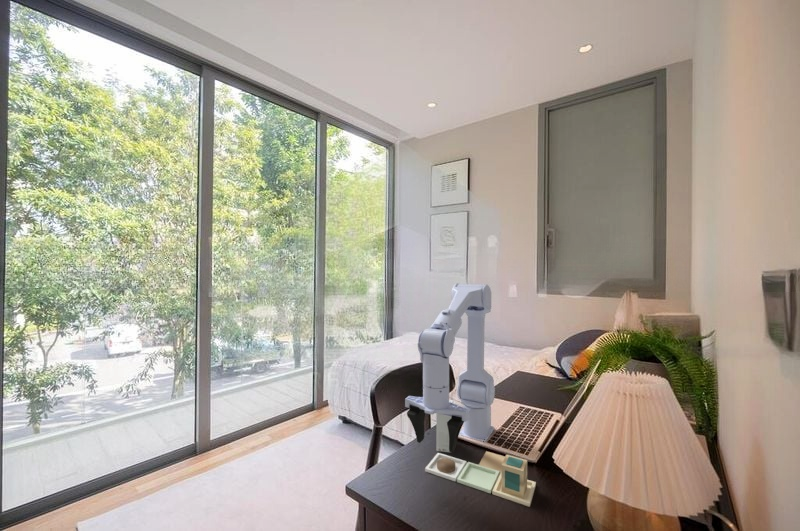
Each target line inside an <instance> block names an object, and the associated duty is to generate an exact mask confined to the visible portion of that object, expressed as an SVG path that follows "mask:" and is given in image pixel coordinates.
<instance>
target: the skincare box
mask: <svg viewBox="0 0 800 531" xmlns="http://www.w3.org/2000/svg"><path fill="white" fill-rule="evenodd" d="M449 402H451V403H454V399H449ZM435 414H436V417H435V419H436V424H435V425H436V438H435V439H436V442H435V444H436V445H435V447H436V449H435V451H436V452H443V453H453V452H449V431H448V426H447V422H448V421H449V420H450V419H451V416H447V415H443V414H438V413H435Z"/></svg>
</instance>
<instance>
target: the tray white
mask: <svg viewBox="0 0 800 531" xmlns="http://www.w3.org/2000/svg"><path fill="white" fill-rule="evenodd" d="M442 458H448V459H451V460H453V461H454V462H455V471H454V472H452V473H443V472H440V471H439V470H438V469H437V461H438V460H440V459H442ZM467 463H468V462H467V460H464V459H460V458H457V457H453V456H451V455H447V454H444V453H441V452H437V453H436V454H435V455H434V456H433V458H432V459H431V460H430V461H429V463H428V464H427V465H426V466H425V468H424V472H426V473H429V474H431V475H434V476H437V477H439V478H443V479H446V480H448V481H449V480H450V481H452V482H457V478H458V477H459V475H460V474H461V472H462V470H463V469H464V467H465V466H466V464H467Z"/></svg>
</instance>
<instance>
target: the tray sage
mask: <svg viewBox="0 0 800 531" xmlns="http://www.w3.org/2000/svg"><path fill="white" fill-rule="evenodd" d="M499 475H500V472H499V471H497V470H494V469H491V468H487V467H484V466H481V465H479V464H477V463H475V462H470V461H468V462H467V464H466V466H465V467H464V469H463V470H462V472H461V474H460V475H459V477H458V478H457V480H456V483H458V484H461V485H464V486H466V487H470V488H473V489H476V490H477V491H478V490H479V491H482V492H484V493H488V494H491V493H492V491H493V488H494V486H495V484H496V482H497V480H498V477H499Z"/></svg>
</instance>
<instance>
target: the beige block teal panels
mask: <svg viewBox="0 0 800 531" xmlns="http://www.w3.org/2000/svg"><path fill="white" fill-rule="evenodd" d="M527 480H528V459H525V458H524V459H523V458H521V457H517V456H514V455H510V454H505V458H504V461H503V463H502V471H501V492H503V493H506V494H509V495H512V496H515V497H518V498H521V499H524V495H525V492H526V489H527Z"/></svg>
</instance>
